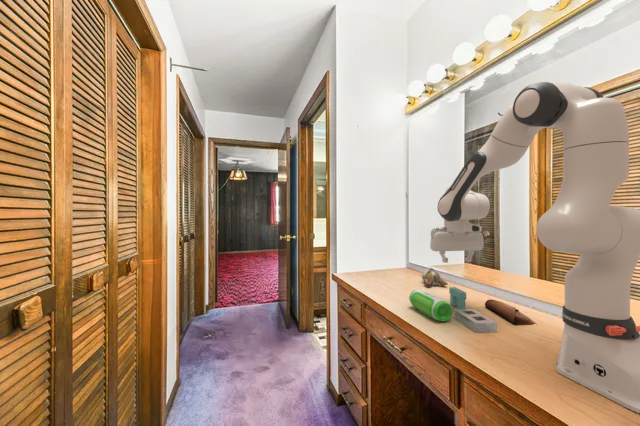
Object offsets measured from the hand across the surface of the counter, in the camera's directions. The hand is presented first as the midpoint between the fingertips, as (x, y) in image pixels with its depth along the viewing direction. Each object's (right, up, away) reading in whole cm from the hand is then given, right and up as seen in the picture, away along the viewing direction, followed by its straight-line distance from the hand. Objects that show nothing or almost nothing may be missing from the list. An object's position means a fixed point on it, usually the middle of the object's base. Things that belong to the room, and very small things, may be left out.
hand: (456, 262), depth 113 cm
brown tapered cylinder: (+15, -19, -9) cm, 25 cm away
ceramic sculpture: (+4, -18, +35) cm, 40 cm away
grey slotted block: (-2, -18, -17) cm, 25 cm away
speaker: (-13, -19, -7) cm, 24 cm away
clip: (0, -18, 0) cm, 18 cm away
